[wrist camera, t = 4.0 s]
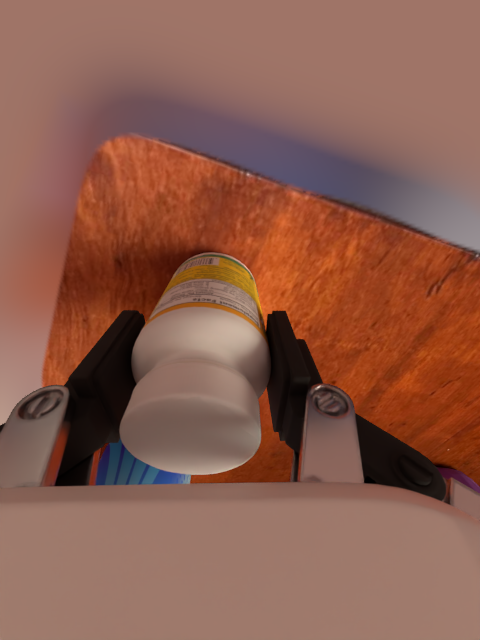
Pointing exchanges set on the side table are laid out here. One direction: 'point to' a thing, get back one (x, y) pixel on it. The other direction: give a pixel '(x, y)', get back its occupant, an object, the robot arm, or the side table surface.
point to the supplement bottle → (199, 371)
